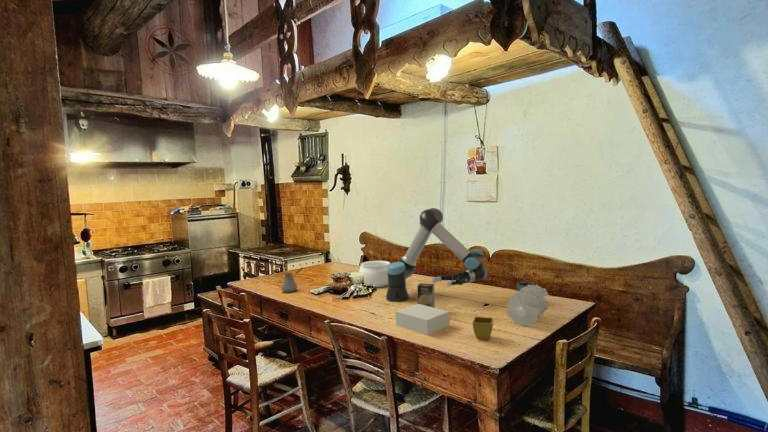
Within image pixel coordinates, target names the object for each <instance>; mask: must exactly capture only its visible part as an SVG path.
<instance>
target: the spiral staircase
mask: <svg viewBox="0 0 768 432" xmlns="http://www.w3.org/2000/svg"><path fill="white" fill-rule="evenodd" d="M547 296H549V293H548V291H547V289H546V288H543V287H541V286H539V285H538V284H537V283H536V284H535V285H534V286H533V285H528V286H527V287H524V288H521V291H518V292H517V291H515V292H514V294H512V295H510V296H509V297H510V298H509V300H508V301H507V302H506V304H505V305H507V307H506V314H507V316H508V318H510V319H511V320H512V321H513V323H514V324H515V325H520V326H522V327H524V328H525V327H526V326H534V323H536V322H537V321H538V320H539V319H540V318H541V319H542V316H544V313H546V311H547V310H549V308H548V303H549V300H547V299H544V298H546V297H547Z"/></svg>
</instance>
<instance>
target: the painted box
mask: <svg viewBox="0 0 768 432" xmlns="http://www.w3.org/2000/svg"><path fill="white" fill-rule="evenodd" d="M395 326H397V327H400V328H403V329H406V328H407V329H406V330H409V329H410V331H412V330H413V332H416V333H419V334H422V335H426V336H429V335H431V334H434V333H436V332H437V331H440V330H443V329H445V328H447V327H450V311H448V310H444V309H441V308H437V307H435V308H433V307H429V306H425V305H421V304H418V303H417V304H413V305H411V306H410V305H409V306H407V307H404V308H402V309H398V310H396V311H395Z"/></svg>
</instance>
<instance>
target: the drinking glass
mask: <svg viewBox="0 0 768 432" xmlns="http://www.w3.org/2000/svg"><path fill="white" fill-rule="evenodd" d="M528 285H533V286H535V283H533V282H529V281H520V282H519V281H518V282H516V289H517V290H516V292H518V291H521V288H524V287H527V286H528Z"/></svg>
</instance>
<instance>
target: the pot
mask: <svg viewBox="0 0 768 432" xmlns="http://www.w3.org/2000/svg"><path fill="white" fill-rule="evenodd" d="M389 264H391V262H389V261H387V260H368V261H364V262H361V263H360V268H359V271H358V274H359V273H361V274H364V283H366V284H372V285H375V286H376V287H375V288H383V287H388V271H387V270H388V265H389Z"/></svg>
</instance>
